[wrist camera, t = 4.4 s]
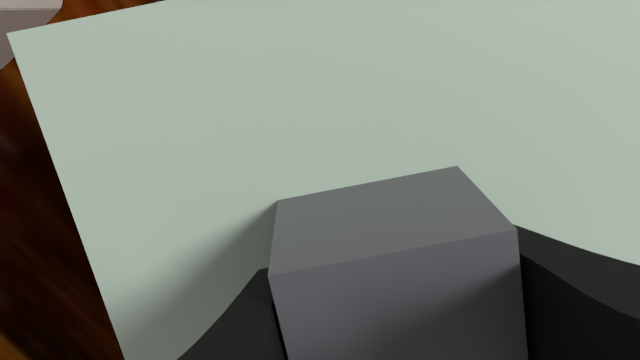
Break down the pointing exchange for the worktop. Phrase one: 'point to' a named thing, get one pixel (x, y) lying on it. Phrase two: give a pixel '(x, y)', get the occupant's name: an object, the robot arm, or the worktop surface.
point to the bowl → (22, 20)
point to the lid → (339, 162)
